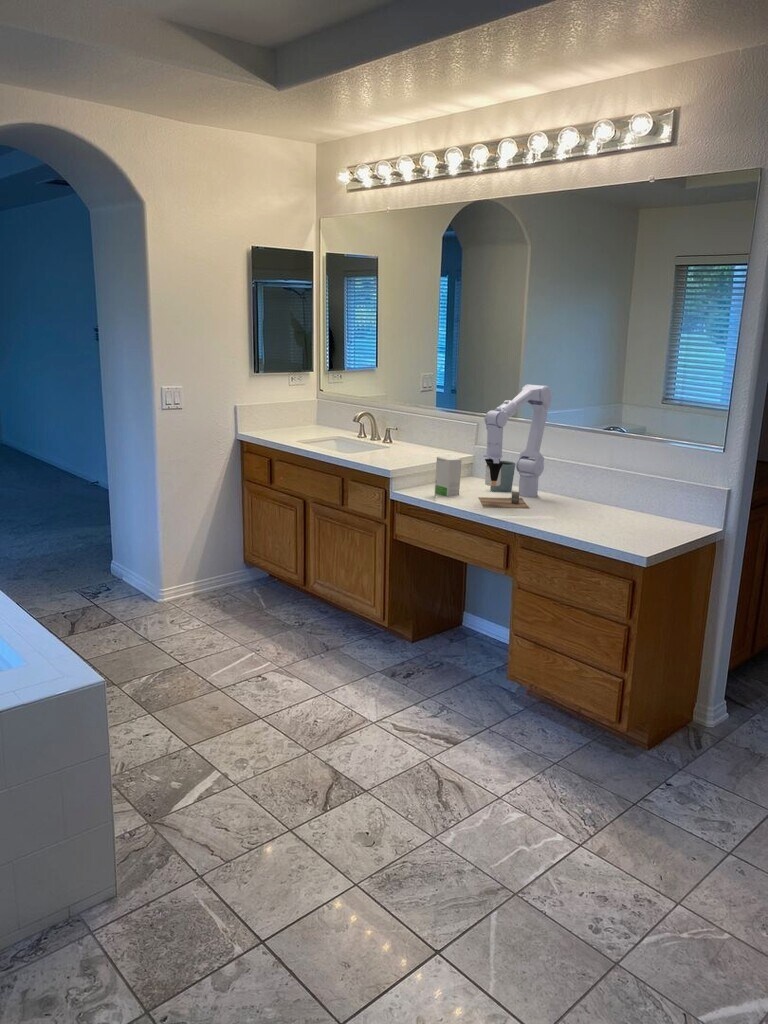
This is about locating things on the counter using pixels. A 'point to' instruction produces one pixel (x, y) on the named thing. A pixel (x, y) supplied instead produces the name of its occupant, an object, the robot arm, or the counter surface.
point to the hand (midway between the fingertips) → (492, 479)
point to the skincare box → (447, 475)
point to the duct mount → (504, 502)
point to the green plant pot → (505, 477)
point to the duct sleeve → (488, 478)
